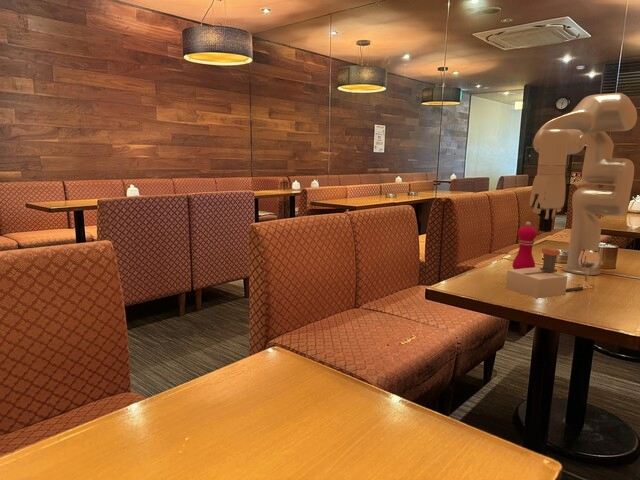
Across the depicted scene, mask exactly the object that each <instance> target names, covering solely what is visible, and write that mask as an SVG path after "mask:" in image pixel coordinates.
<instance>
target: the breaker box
mask: <svg viewBox="0 0 640 480" xmlns="http://www.w3.org/2000/svg"><path fill="white" fill-rule="evenodd" d="M567 282H568V276H567V275H564V274H561V273H556V272H546V271H543V270H540V267H536V266H535V267H533V268H523V269H514V268H513V269H507V274H506V283H505V284H506V285H505V289H507V290H510V291H513V292H515V291H516V293H518V292H519V294H521V293H522V294H521V295H524V294H525V295H524V296H527V295H528V297H530V296H531V297H530V298H533V297H534V299H535V300H539V299H538V298H541V299H547V298H546V297H548V298H554V297H553V296H555V297H560V296H561V295H562V296H566V294H567V293H573V291H574V292H579V291H580V292H581V291H583V290H584V287H580V286H575V287H568V288H567V284H568V283H567ZM562 296H561V297H562Z"/></svg>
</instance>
